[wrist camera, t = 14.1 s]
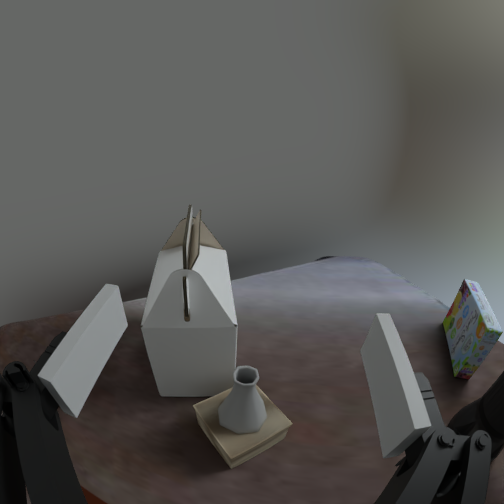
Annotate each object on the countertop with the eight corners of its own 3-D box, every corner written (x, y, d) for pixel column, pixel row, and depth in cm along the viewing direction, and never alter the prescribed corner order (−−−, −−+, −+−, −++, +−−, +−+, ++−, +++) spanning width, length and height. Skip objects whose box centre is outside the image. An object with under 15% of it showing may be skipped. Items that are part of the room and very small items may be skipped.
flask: (212, 429, 33) (208, 393, 28) (222, 390, 39) (222, 349, 35) (263, 438, 32) (273, 404, 28) (269, 398, 39) (278, 357, 34)
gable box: (234, 396, 45) (241, 258, 32) (160, 397, 43) (125, 259, 30) (224, 316, 64) (227, 198, 51) (167, 317, 62) (156, 198, 49)
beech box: (285, 438, 38) (292, 423, 35) (230, 470, 32) (231, 458, 29) (248, 397, 45) (250, 378, 42) (196, 422, 39) (192, 405, 36)
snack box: (470, 380, 44) (504, 332, 37) (453, 378, 46) (486, 328, 39) (456, 325, 62) (478, 281, 55) (441, 322, 64) (462, 276, 57)
